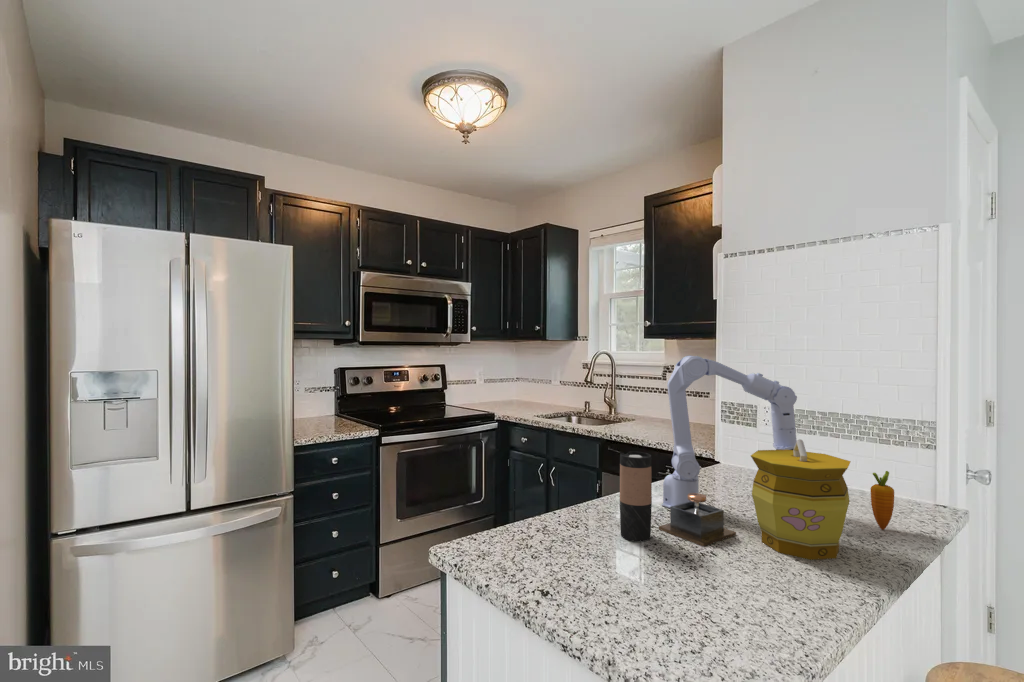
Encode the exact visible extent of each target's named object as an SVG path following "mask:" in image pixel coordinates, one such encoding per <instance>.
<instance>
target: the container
mask: <svg viewBox="0 0 1024 682" xmlns="http://www.w3.org/2000/svg"><path fill="white" fill-rule="evenodd" d="M796 440H797V442H796V444H795V447H794V449H793V450H776V449H762V450H761V449H760V450H759V449H758V450H756V451H754V452H753V453H752V454H751V455H750V457H751V459H752V461H753V462H754V464H755V465H756V467H757V472H756V474H755V476H754V479H753V482H752V488H751V489H752V490H751V496H752V500H753V504H754V510H755V514H756V520H757V523H758V526H759V529H760V532H761V543H762V544H763V543H764V545H765V546H767V547H768V548H770V549H771V548H772V550H773V551H774V552H776V553H778V554H781V555H785V556H790V557H794V558H798V559H802V558H803V560H807V561H823V560H824V561H826V560H837V558H838V555H839V552H840V539H841V537H842V534H843V530H844V527H845V521H846V516H847V513H848V510H849V505H850V502H851V501H850V494H849V487H848V485H847V483H846V480H845V478H844V476H843V475H844V474H845V473H846V471H847V470H848V468H849V466H850V464H851V460H847V459H845V458H840V457H837V456H833V455H830V454H826V453H821V452H813V451H812V452H811V451H807V450H806V447H805V443H804V441H803V439H800V438H799V439H796Z"/></svg>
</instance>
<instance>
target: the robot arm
mask: <svg viewBox="0 0 1024 682" xmlns="http://www.w3.org/2000/svg"><path fill="white" fill-rule="evenodd" d="M705 376H719V377H721V378H723V379H725V380H729V381H731V382H733V383H736V384H738V385H741V387H742V389H743V392H746V393H748V394H750V395H752V396H754V397H757V398H760V399H761V400H764V401H768V402H769V403H770V410H771V411H770V412H771V413H770V414H771V425H772V438H773V443H772V446H773V448H774V450H793V449H794V447H795V444H796V442H797V440H798V439H797V429H796V428H797V427H796V420H795V419H796V418H795V417H796V416H795V409H794V405H795V404H796V403H797V399H798V396H797V395H796V393H795V390H793V389H792V387H789V386H787V385H781V384H780V382H779V381H778V380H774V381H773V380H771V379H769V378H766V377H763V376H764V374H762V373H760V372H757V373H754V372H752V373H749V374H745V373H743V372H741V371H739V370H736V369H734V368H731V367H730V366H727V365H725V364H723V363H721V362H718V361H716V360H712V359H709V358H703V357H702V356H699V355H686V356H684V357H682V358H681V359H680V360H679V361H677V362H676V363H675V366H674V369H673V371H672V372H671V375H670V377H669V378H668V381H667V383H666V384H667V393H668V394H667V395H668V396H667V397H668V401H669V403H668V404H669V410H670V412H669V413H670V420H671V428H672V436H673V437H672V438H673V447H672V448H673V449H672V450H673V454H672V457H671V466H672V468H673V469H674V471H673V473H672V474H671V473H670V474H668V475H666V476H665V477H664V480H663V484H662V486H663V487H662V492H663V493H662V494H663V496H662V503H661V506H662V507H665V508H668V509H670V507H671V506H675V505H678V504H682V503H686V502H690V500H688V494H689V493H699V492H700V491H699V474H700V472H701V465H700V463H699V462H698V460H697V459H696V455H695V451H694V448H693V447H694V446H693V442H692V441H693V440H692V434H691V433H692V432H691V426H690V425H691V424H690V418H689V408H688V401H687V392H686V390H687V389H688V388H689V387H690V386H691V385H692V384H693V383H694V382H695V381H697V380H699V379H701V378H703V377H705ZM699 494H700V493H699Z"/></svg>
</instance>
